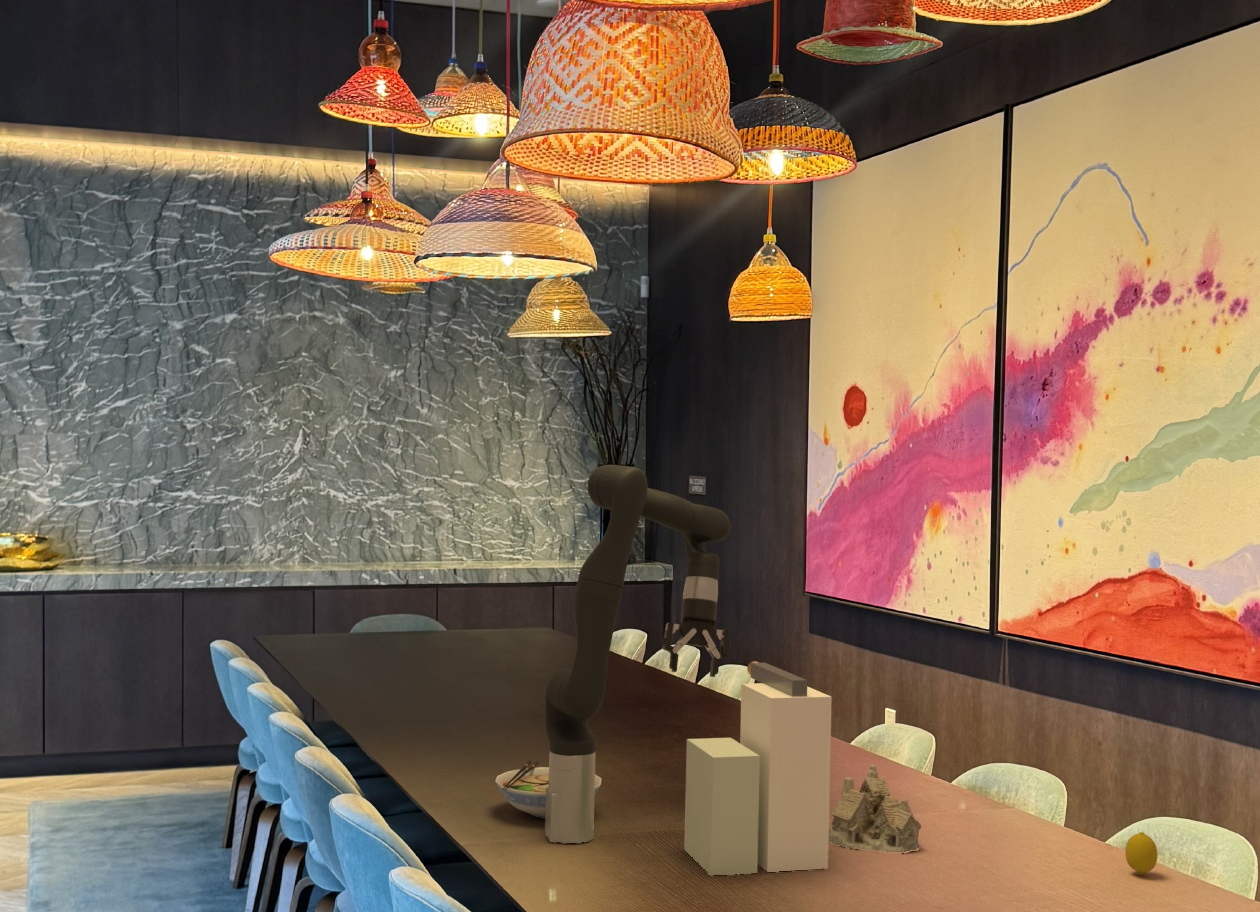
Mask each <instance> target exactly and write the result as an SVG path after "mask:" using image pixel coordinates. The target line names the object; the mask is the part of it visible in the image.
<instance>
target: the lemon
mask: <svg viewBox="0 0 1260 912" xmlns="http://www.w3.org/2000/svg"><path fill="white" fill-rule="evenodd" d="M1124 854H1125V858H1126V862H1127V864H1128V866H1129V867H1130V868H1131V869H1132V870H1133V871H1135V872H1137V874H1138V875H1139V876H1144V875H1145V874H1146V873H1149V872H1151V871H1152V870H1153V869H1154V868H1155V866H1156V865H1157V862H1158V848H1157V846H1156V843H1155V841H1154V839H1152V838H1151V837H1150V836H1149V835H1147V834H1145V832H1144V831H1143V832H1142V831H1139V833H1135V834H1133V835H1131V836H1130V837H1129V839H1128V840H1127V843H1126V846H1125V853H1124Z"/></svg>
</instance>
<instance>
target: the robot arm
mask: <svg viewBox="0 0 1260 912" xmlns="http://www.w3.org/2000/svg"><path fill="white" fill-rule="evenodd" d="M587 492H588V496H589V499H590V500H591V502H592V503H594V504H595V505H596V506H597V507H599V508H602V509H605V510H609V511H610V510H611V515H610V519H609V522H608V526H607V529H606V531H605V533H604V535H603V537H602V538H601V540H600V541H599V542H598V543H597V546H595V548H594V549H593V550H592V551H591V553H590V554H589V556H588V557H587V558H586V560H585V561H584V563H583V565H581V568H580V570H579V573H578V578H577V582H576V588H575V590H574V591H575V593H574V596H573V615H574V618H573V619H574V624H575V630H576V651H575V656H574V660H573V665H572V668H570V667H569V668H567V667H566V668H561V669H559V670H557V671H556V672H555V673H553V675H552V676H551V677H550V679H549V681H548V682H547V686H546V690H545V702H544V703H545V705H544V706H545V732H546V733H545V734H546V736H547V739H548V745H549V748H548V749H549V754H548V755H549V757H548V759H549V760H548V767H549V786H548V787H546V810H545V818H544V819H545V821H544V822H545V823H544V835H545V836H546V838H547V837H548V838H547V840H548V841H549V843H551V842H553V843H557V842H561V843H560V844H566V843H577V844H583V843H582V842H584V843H587V842H591V841H592V840H593V839H594V829H595V826H594V825H595V821H594V820H595V795H594V793H595V774H596V748H597V747H596V746H597V745H596V742H597V740H596V737H595V735H594V734H593V732H592V731H591V728H590V727H589V724H588V720H590V719H591V718H593V717H594V716H596V714H598V712H599V711H600V709H601V707H602V704H603V702H604V698H605V692H606V684H607V677H608V676H607V675H608V666H609V659H610V658H609V657H610V651H611V650H610V649H611V645H612V639H613V635H614V631H615V630H614V629H615V625H616V620H617V615H618V611H619V607H620V603H621V599H622V598H621V597H622V595H623V589H624V584H625V577H626V572H627V567H628V563H629V560H630V556H631V555H630V554H631V551H632V546H633V543H634V538H635V536H636V533H637V529H638V526H639V523H640V519H641V517H642V518H645V519H647V520H649V521H652V522H654V523H657V524H659V525H661V526H663V527H666V528H668V529H671V530H673V531H676V532H678V533H683V539H684V545H685V552H686V558H687V564H686V565H687V566H686V573H685V574H686V575H685V577H686V578H685V581H684V587H683V593H682V605H681V616H680V623H679V624H678V623H674V622H673V621H669V622H667V623H666V624H665V628H664V634H663V642H662V650H663V651H666V652H668V653H669V669H670V670H671V672H672V673H677V672H678V664H679V655H680V654H679V653H678V652H679V651H680V650H681V649H682V648H683V647H684V646H686V645H687V646H688V647H689V646H691V647H693V646H695V647H698V648H703V647H705V649H706V651H707V652H709V655H710V656H711V659H710V666H709V668H710V669H709V677H710V678H715V677H716V675H718V673H719V667H720V660H721V659H723V658H727V657H729V656H730V655H729V654H730V630H729V629H728V628H726V629H717V627H716V623H717V622H716V621H717V620H716V619H717V609H718V596H719V582H718V581H719V570H720V557H719V556H718V554H716V553H714V552H710V551H707V549H706V545H705V544H706V543H716V542H721V541H724V540H726V538H727V537H728V536H729V534H730V532H731V529H732V528H731V527H732V525H731V521H730V519H729V516H728V515H727V514H726V513H725V512H724V511H723V510H722V509H719V508H716V507H713V506H707V505H703V504H698V503H693V502H691V501H689V500H687V499H686V498H682V497H680V496H678V495H676V494H675V495H674V494H672V493H669V492H666V491H661V490H659V489H655V488H650V487H648V479H647V477H646V474H645V472H644V471H643V470H642V469H641V468H640V467H639V468H638V467H636V466H628V465H619V464H604V465H600V466H598V467H596V468H595V469H594V470H593V471H592V472H591V474H590V475H589V478H588V481H587ZM677 630H678V633H679V634H680V636H681V637H680V639H678V641H677V642H676V643H675V644H674V645H673V646H672V645H671V644H672V639H673V634H675V633H676V631H677ZM716 635H717V637H718V640H720V651H719V650H718V648H717V646H716V644H715V642H714V641H713V639H714V637H715V636H716Z"/></svg>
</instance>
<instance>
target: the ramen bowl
mask: <svg viewBox="0 0 1260 912" xmlns="http://www.w3.org/2000/svg"><path fill="white" fill-rule="evenodd" d="M539 764H540V760H536V761H534V763H532V760H531V759H528V760H527V761H526V763H525V764H524V765H523V766H522V767H521V768H520V769H519V768H518V769H513V770H508V771H505V772H503V773H501V774H499V775H497V776H496V778H495V780H494V781H495V784H496V785H497V788H498V789H499V791H500V793H501V795H502V796H503V798H505V800H506V801H507V802H508V803H509V804H510V805H511V806H513V807H514V808H515V809H517V810H519V811H522V812H524V813H527V814H530V815H531V816H532V815H533V817H535V816H536V818H538V817H542V818H541V819H545V810H546V787H548V786H549V766H547V767H546V766H541V767H539V766H538V765H539ZM537 766H538V767H537ZM601 785H602V777H600V776H599V775H597V774H596V773H595V793H594V796H596V794H597V793H598V791H599V789H600V787H601Z"/></svg>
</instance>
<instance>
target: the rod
mask: <svg viewBox="0 0 1260 912" xmlns="http://www.w3.org/2000/svg"><path fill="white" fill-rule="evenodd" d="M746 669H747V673H748V674H749V675H750V678H751V679H752V680H755V681H757V682H758V683H763V684H766V685H768V686H770V687H772V688H774V689H776V690H779V691H781V692H783V693H785V694H787V695H789V696H792V697H801V696H807V687H808V679H805V678H803V677H800V676H799V675H796V674H794V673H791V672H788V671H787V670H784V669H782V668H779V667H777V666H774V665H771V664H769V663H767V662H759V661H756V660H754V661H750V662H749V663H748V664H747V668H746Z"/></svg>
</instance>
